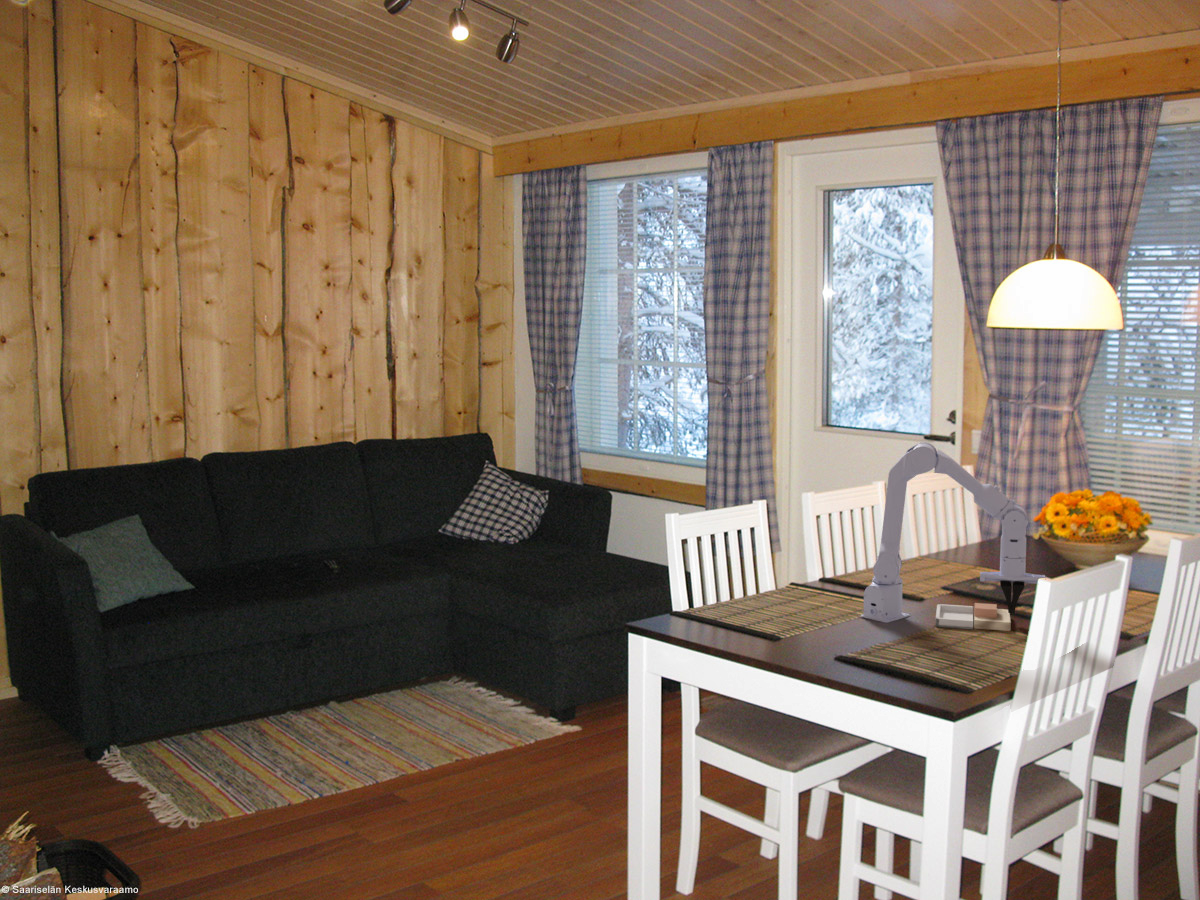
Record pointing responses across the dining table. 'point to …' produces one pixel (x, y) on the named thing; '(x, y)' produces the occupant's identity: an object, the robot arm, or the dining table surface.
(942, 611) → the tray
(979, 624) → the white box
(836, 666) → the dining table surface
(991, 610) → the tile
